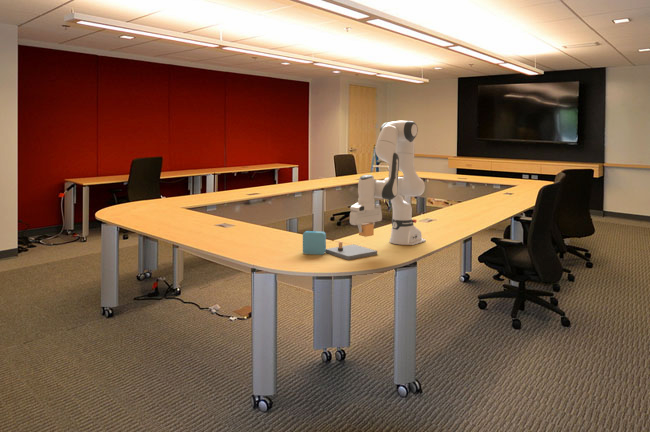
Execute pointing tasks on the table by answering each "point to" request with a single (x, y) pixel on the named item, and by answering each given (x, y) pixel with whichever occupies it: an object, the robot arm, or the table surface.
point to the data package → (314, 242)
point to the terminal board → (350, 251)
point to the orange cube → (367, 230)
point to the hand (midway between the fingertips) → (366, 231)
